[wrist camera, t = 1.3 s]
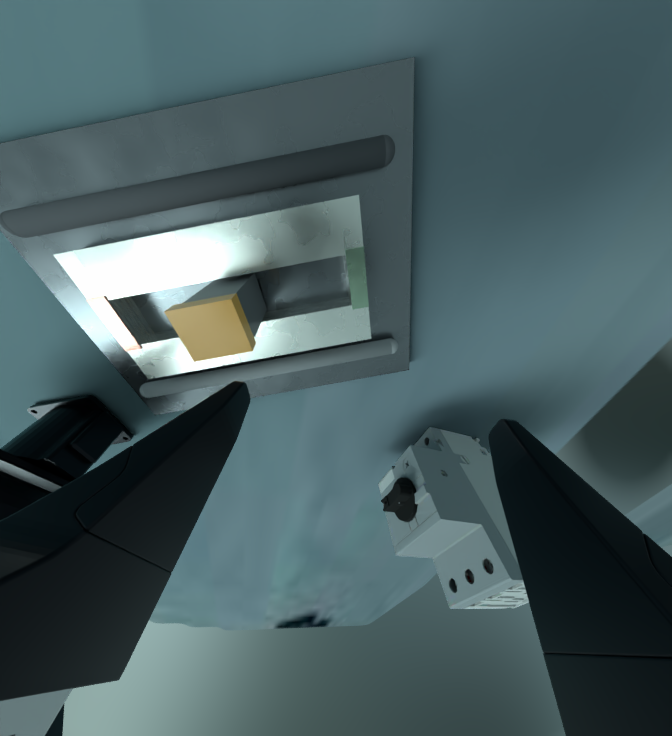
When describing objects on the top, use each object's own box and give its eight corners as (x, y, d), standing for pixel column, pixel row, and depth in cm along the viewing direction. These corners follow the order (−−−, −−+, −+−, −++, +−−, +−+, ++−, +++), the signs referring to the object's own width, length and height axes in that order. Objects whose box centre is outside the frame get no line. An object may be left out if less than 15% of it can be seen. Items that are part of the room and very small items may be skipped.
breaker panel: (160, 408, 25) (142, 431, 22) (-40, 159, 14) (-121, 147, 11) (405, 364, 24) (416, 382, 22) (408, 66, 13) (431, 31, 11)
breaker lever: (228, 318, 19) (193, 361, 13) (210, 279, 17) (164, 311, 12) (269, 310, 19) (252, 351, 13) (256, 270, 17) (231, 299, 12)
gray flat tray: (151, 392, 22) (142, 402, 21) (9, 212, 14) (-18, 212, 13) (395, 347, 22) (400, 355, 21) (391, 135, 14) (398, 129, 13)
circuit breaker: (387, 416, 28) (445, 577, 16) (478, 438, 32) (582, 582, 20) (360, 454, 32) (391, 609, 20) (445, 470, 36) (515, 608, 23)
